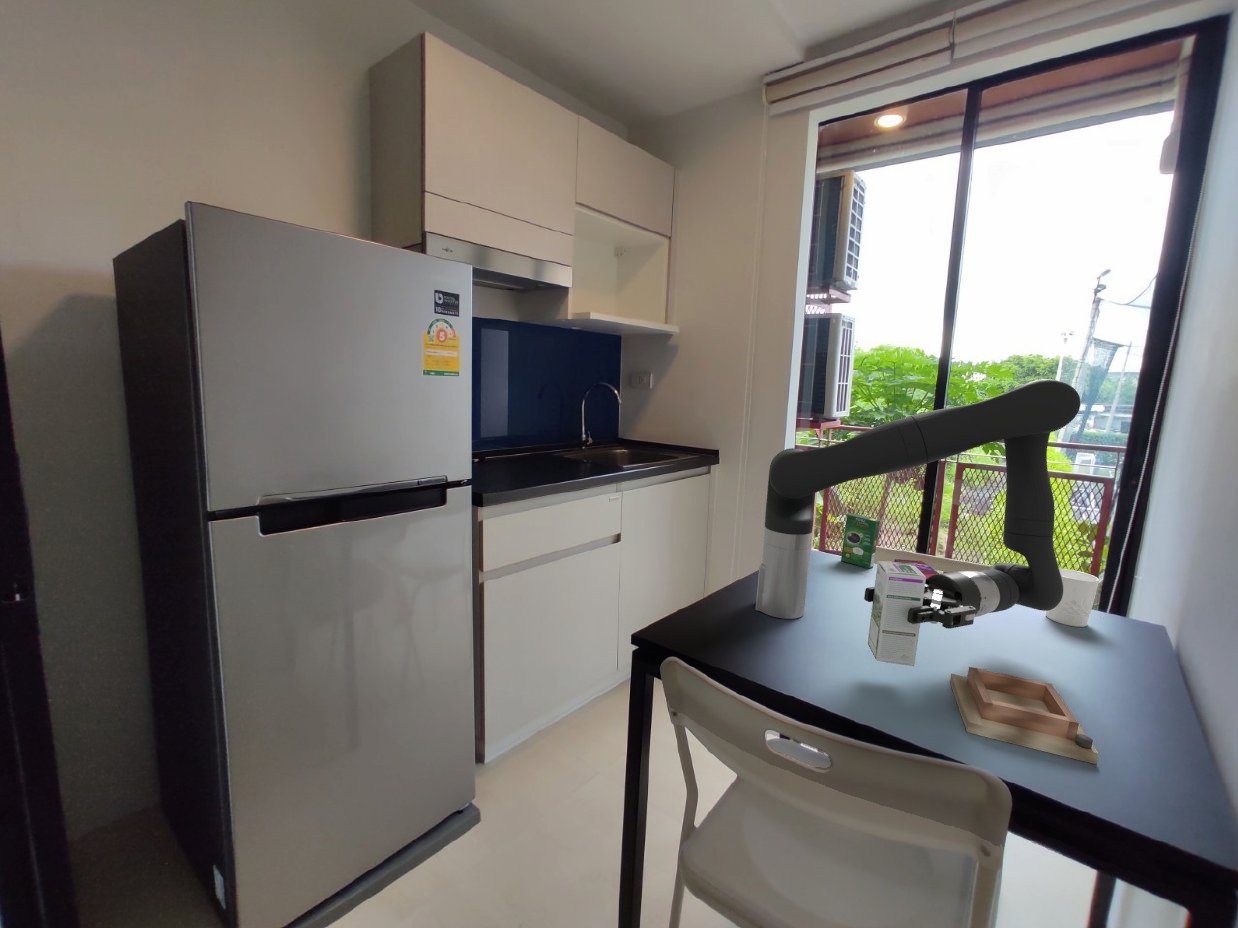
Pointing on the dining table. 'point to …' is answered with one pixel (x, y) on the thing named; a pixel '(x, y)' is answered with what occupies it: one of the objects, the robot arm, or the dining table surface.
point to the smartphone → (920, 567)
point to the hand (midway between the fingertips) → (887, 605)
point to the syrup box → (895, 612)
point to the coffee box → (860, 540)
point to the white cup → (1075, 598)
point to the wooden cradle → (1020, 713)
